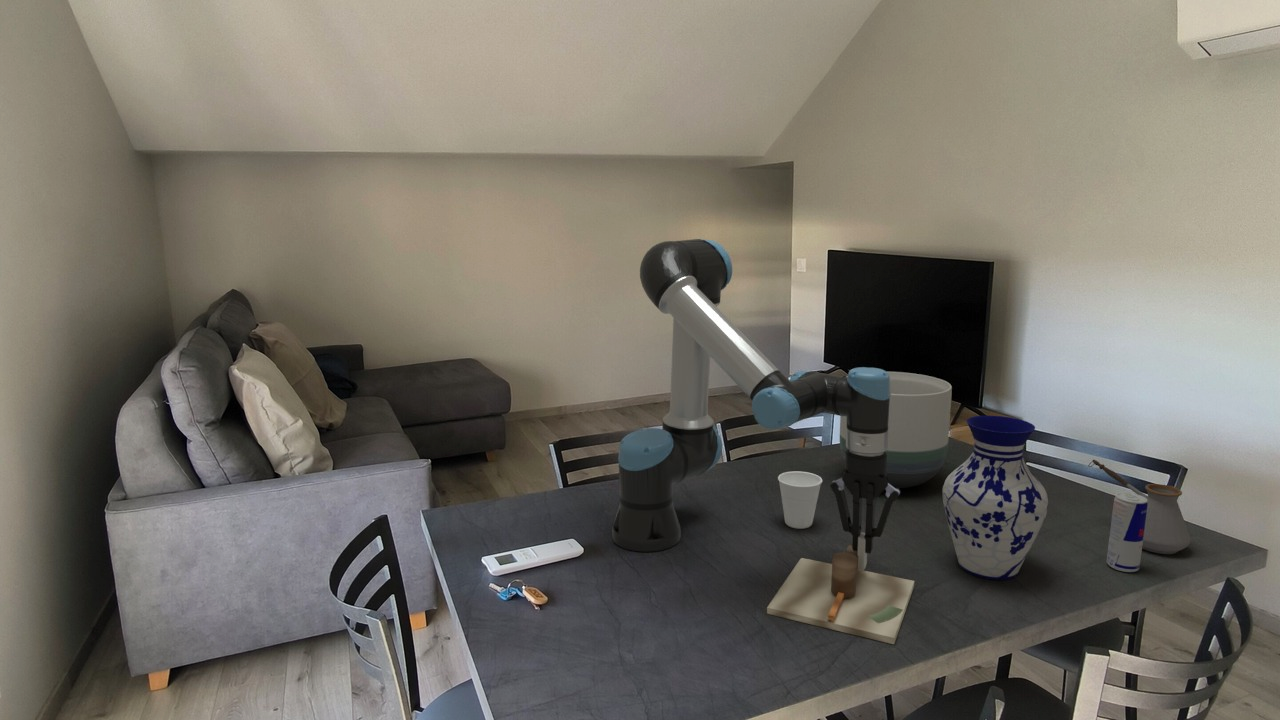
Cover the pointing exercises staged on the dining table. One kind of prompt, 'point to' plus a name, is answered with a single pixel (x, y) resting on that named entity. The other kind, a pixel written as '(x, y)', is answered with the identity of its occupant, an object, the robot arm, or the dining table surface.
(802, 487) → the cup
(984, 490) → the vase
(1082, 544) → the dining table surface
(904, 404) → the planter
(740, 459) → the dining table surface
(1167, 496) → the coffee pot
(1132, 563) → the beverage can
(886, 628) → the cream flat square slab
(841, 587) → the wooden mallet
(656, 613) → the dining table surface
